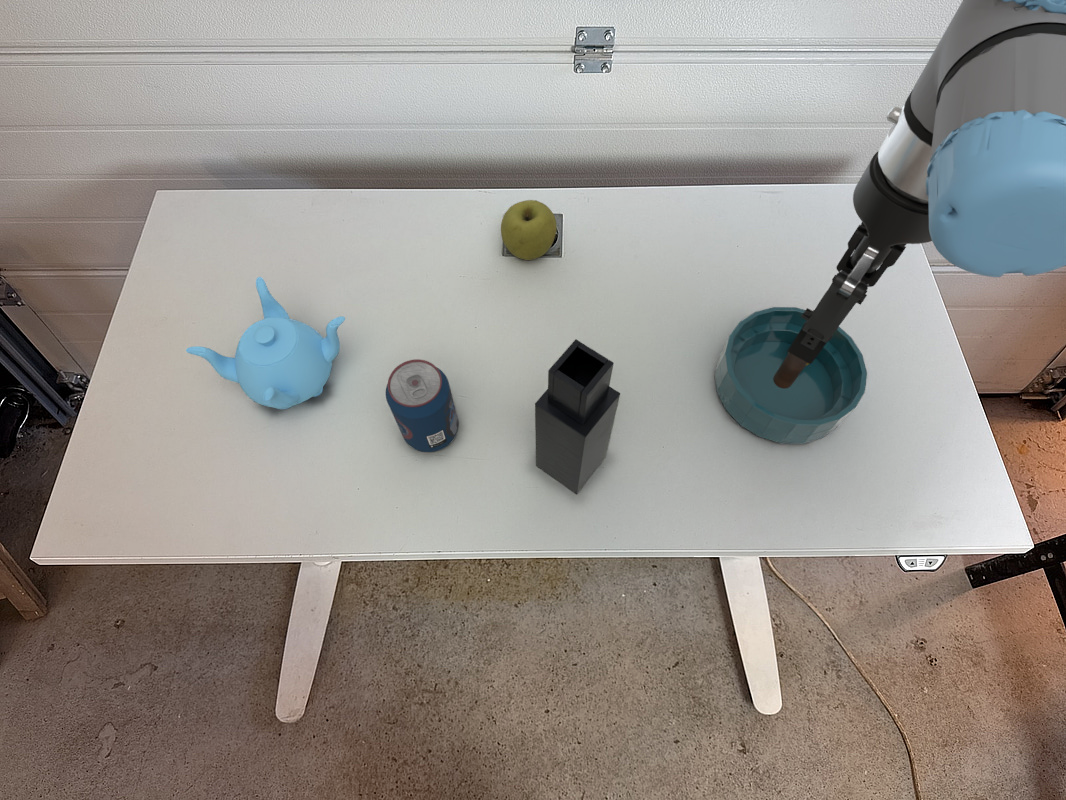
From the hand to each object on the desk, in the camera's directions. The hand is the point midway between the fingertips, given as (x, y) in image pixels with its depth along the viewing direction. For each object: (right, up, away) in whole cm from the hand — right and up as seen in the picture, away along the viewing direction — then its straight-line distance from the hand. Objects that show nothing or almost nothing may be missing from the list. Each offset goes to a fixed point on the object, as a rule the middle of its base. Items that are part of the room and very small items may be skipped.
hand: (806, 345), depth 67 cm
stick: (0, -3, +7) cm, 7 cm away
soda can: (-41, -10, +11) cm, 44 cm away
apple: (-29, +16, +25) cm, 41 cm away
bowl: (+2, -4, +13) cm, 14 cm away
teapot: (-59, -3, +15) cm, 61 cm away
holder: (-24, -13, +9) cm, 29 cm away
